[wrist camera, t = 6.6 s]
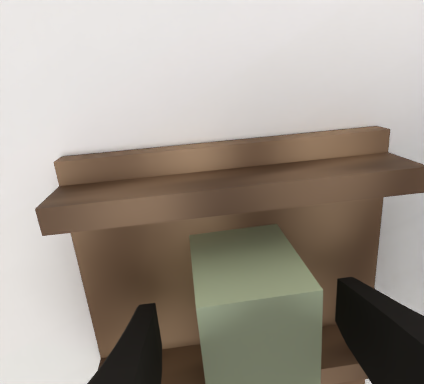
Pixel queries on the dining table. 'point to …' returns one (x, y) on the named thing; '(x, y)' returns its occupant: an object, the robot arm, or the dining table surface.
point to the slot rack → (223, 226)
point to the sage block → (256, 308)
